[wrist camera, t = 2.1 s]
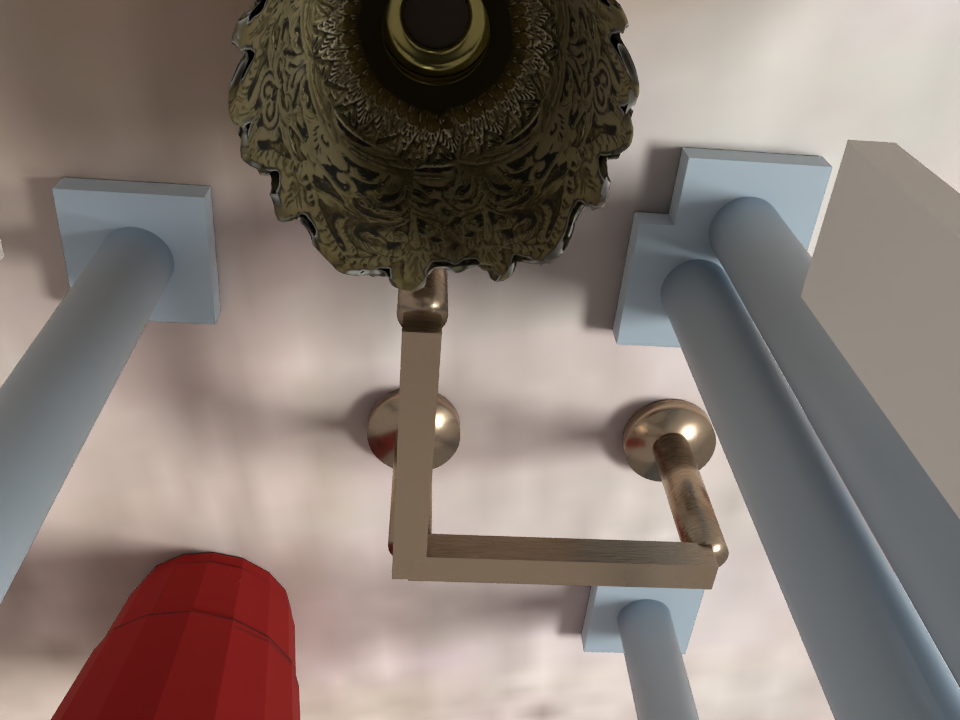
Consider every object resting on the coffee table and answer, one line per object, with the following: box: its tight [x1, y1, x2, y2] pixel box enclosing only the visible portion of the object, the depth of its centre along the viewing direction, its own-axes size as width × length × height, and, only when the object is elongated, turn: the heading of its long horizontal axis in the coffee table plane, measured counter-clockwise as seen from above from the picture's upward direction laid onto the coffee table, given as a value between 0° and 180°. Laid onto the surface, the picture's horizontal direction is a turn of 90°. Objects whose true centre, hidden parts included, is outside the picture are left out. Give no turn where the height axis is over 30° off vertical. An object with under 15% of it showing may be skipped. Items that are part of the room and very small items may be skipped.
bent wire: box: [367, 268, 729, 589], centre depth 26 cm, size 10×12×6 cm
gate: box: [0, 177, 960, 720], centre depth 17 cm, size 4×20×24 cm, turn 85°
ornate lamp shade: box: [229, 0, 639, 292], centre depth 20 cm, size 8×7×8 cm
